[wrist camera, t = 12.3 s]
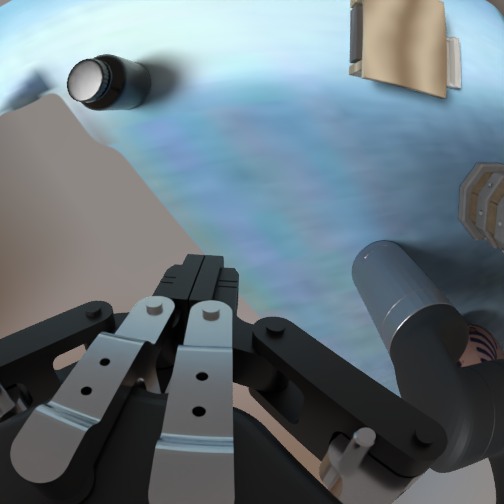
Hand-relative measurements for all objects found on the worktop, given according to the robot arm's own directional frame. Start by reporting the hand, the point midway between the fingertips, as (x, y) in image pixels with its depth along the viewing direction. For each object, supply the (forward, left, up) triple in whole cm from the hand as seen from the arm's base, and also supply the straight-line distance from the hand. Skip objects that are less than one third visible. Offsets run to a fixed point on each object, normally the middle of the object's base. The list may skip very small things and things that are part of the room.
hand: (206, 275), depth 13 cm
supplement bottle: (+18, +8, -29) cm, 35 cm away
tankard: (-23, -36, -29) cm, 52 cm away
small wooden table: (+8, -26, -29) cm, 40 cm away
